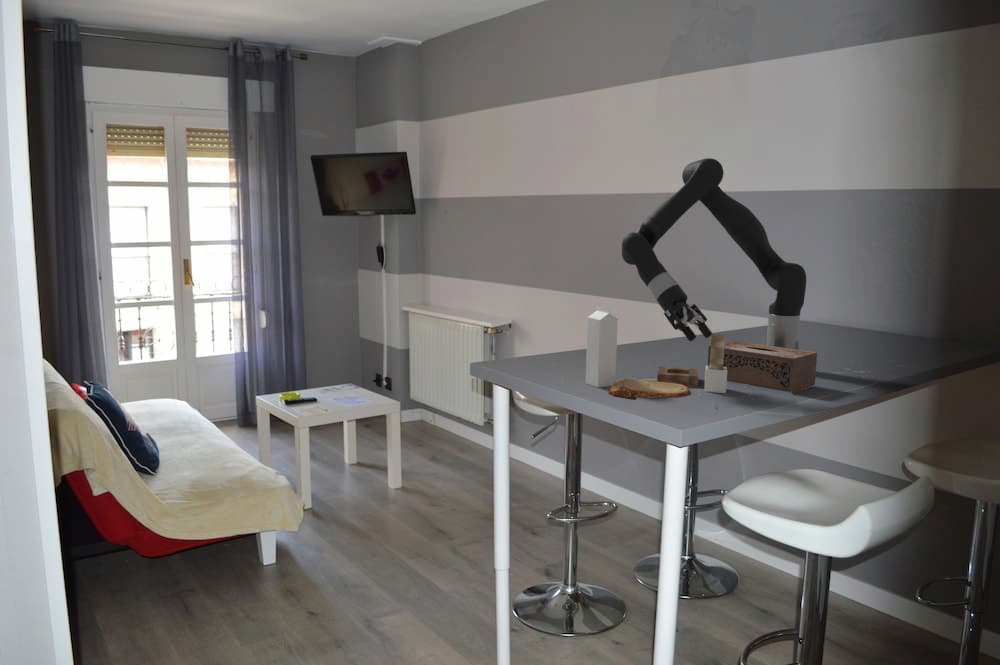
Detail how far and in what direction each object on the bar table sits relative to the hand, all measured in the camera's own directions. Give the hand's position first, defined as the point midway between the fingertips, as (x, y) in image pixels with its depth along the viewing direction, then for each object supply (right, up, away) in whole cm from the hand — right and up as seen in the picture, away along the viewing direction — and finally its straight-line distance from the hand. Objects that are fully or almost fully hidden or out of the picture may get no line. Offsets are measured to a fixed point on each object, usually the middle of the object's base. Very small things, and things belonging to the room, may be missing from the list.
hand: (701, 337), depth 216 cm
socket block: (-5, -13, +9) cm, 16 cm away
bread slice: (-15, -16, -4) cm, 22 cm away
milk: (-27, -13, +6) cm, 31 cm away
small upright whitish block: (+3, -15, -1) cm, 15 cm away
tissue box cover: (+20, -13, +12) cm, 27 cm away
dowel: (+3, -14, -1) cm, 15 cm away
